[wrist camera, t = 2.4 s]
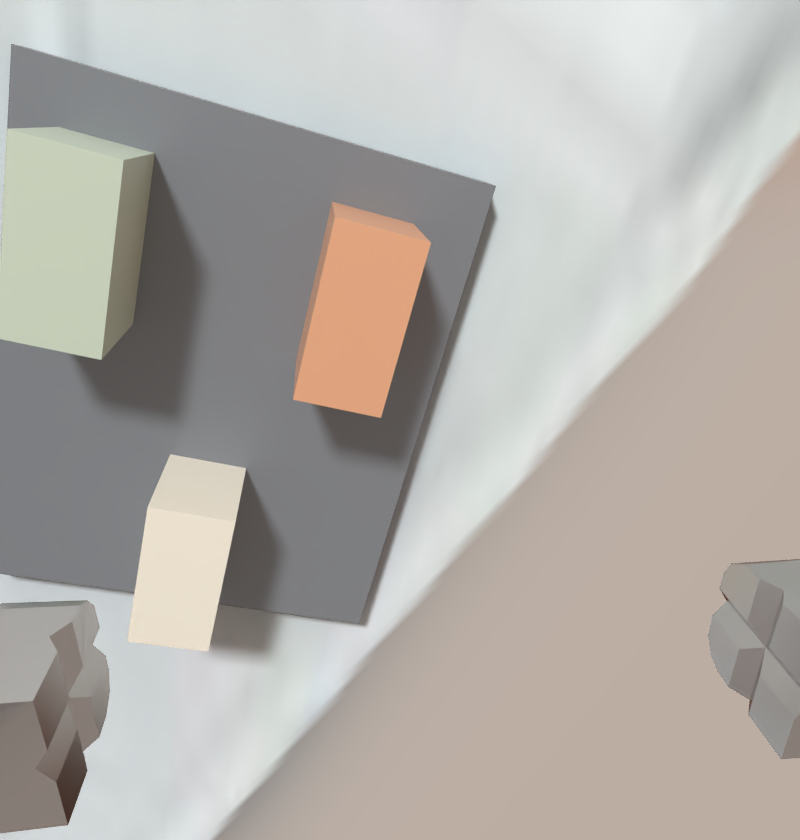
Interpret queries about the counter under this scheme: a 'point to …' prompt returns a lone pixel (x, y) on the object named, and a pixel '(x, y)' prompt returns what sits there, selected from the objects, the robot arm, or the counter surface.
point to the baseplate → (223, 351)
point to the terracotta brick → (358, 310)
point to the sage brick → (71, 239)
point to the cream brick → (185, 553)
